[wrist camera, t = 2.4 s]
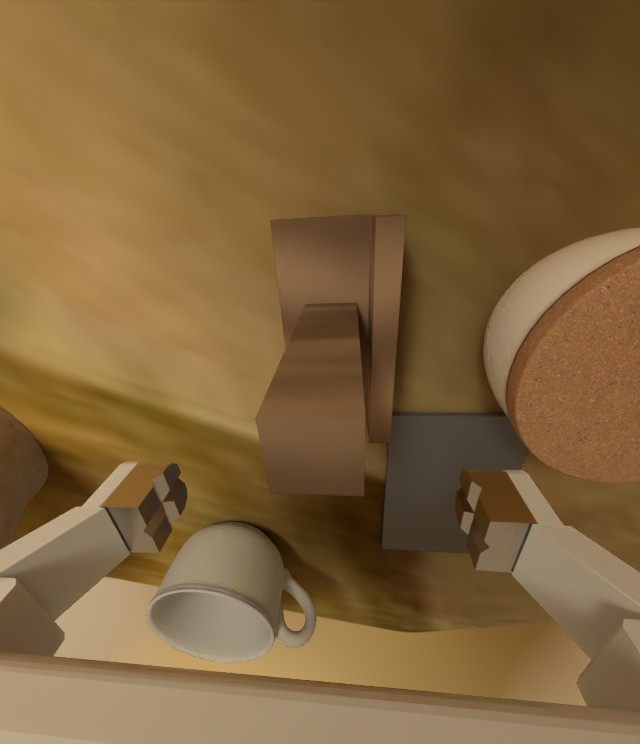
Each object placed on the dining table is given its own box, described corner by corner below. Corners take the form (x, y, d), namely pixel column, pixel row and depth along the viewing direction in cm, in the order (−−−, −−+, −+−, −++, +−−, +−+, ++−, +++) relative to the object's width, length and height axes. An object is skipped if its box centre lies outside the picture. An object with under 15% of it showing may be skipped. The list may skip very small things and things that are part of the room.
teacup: (180, 550, 33) (135, 641, 26) (200, 490, 28) (152, 584, 21) (297, 587, 35) (284, 682, 28) (336, 537, 30) (333, 638, 23)
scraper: (274, 219, 17) (152, 244, 6) (392, 212, 16) (471, 228, 6) (294, 400, 23) (248, 569, 12) (382, 400, 22) (413, 578, 11)
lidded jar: (442, 390, 21) (502, 509, 13) (478, 217, 16) (615, 231, 8) (608, 395, 20) (786, 525, 12) (703, 213, 15) (1126, 223, 7)
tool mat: (390, 412, 22) (390, 416, 22) (536, 413, 21) (539, 416, 21) (381, 544, 30) (381, 548, 30) (488, 550, 29) (489, 554, 29)
